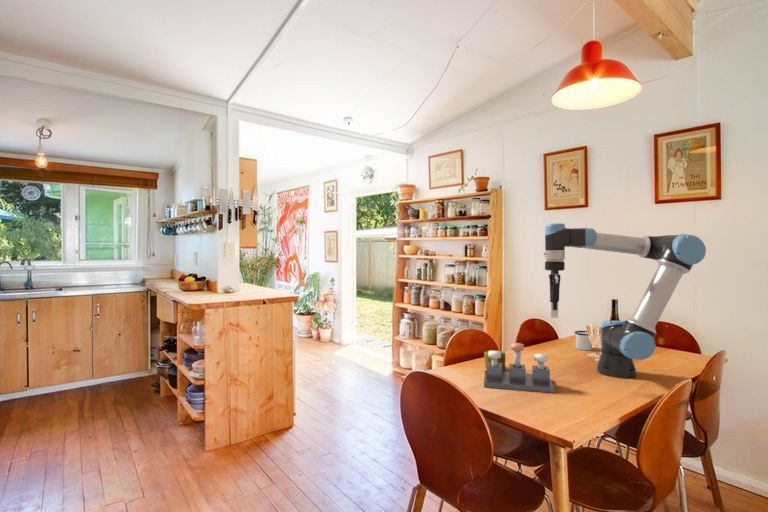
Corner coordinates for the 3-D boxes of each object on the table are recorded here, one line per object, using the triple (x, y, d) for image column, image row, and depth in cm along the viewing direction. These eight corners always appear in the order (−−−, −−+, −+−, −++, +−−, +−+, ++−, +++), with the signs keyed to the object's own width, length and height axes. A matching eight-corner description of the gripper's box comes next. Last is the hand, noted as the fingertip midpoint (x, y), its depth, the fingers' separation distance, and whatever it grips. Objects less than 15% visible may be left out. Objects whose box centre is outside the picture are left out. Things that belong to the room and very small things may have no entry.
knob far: (500, 374, 169) (500, 351, 169) (500, 378, 165) (500, 354, 164) (488, 373, 171) (488, 350, 170) (488, 377, 166) (488, 353, 166)
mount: (548, 379, 170) (548, 363, 169) (554, 393, 154) (554, 374, 154) (484, 374, 176) (485, 358, 176) (484, 387, 161) (484, 369, 161)
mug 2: (588, 352, 214) (588, 335, 214) (570, 348, 222) (571, 332, 222) (599, 348, 221) (599, 332, 221) (582, 345, 229) (582, 329, 229)
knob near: (546, 378, 165) (546, 354, 164) (548, 382, 160) (548, 357, 160) (533, 377, 166) (533, 353, 166) (534, 381, 161) (534, 356, 161)
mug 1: (510, 369, 177) (503, 347, 180) (487, 375, 179) (480, 353, 182) (509, 367, 189) (502, 346, 191) (488, 372, 191) (481, 351, 193)
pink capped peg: (523, 367, 167) (523, 343, 167) (524, 371, 162) (524, 346, 162) (510, 366, 168) (510, 342, 168) (511, 370, 163) (511, 345, 163)
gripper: (543, 260, 175) (542, 314, 176) (547, 261, 163) (546, 319, 163) (561, 260, 173) (561, 315, 174) (567, 261, 161) (566, 320, 161)
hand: (554, 317), depth 168 cm, fingers closed
